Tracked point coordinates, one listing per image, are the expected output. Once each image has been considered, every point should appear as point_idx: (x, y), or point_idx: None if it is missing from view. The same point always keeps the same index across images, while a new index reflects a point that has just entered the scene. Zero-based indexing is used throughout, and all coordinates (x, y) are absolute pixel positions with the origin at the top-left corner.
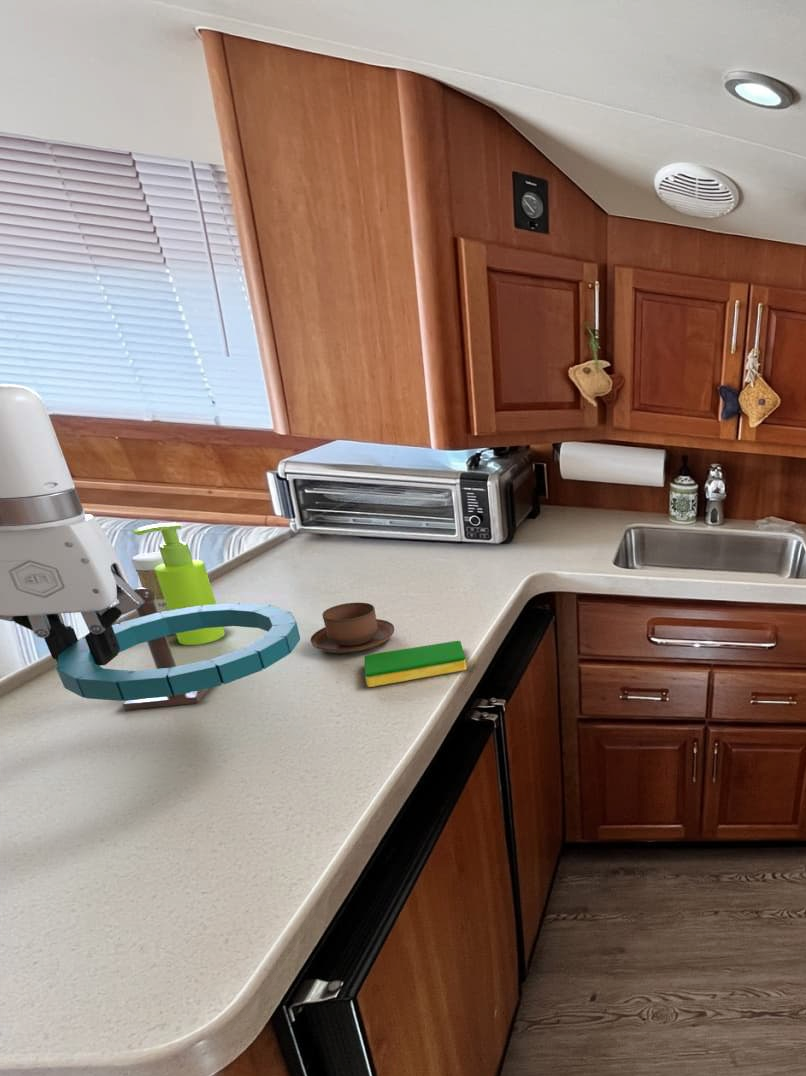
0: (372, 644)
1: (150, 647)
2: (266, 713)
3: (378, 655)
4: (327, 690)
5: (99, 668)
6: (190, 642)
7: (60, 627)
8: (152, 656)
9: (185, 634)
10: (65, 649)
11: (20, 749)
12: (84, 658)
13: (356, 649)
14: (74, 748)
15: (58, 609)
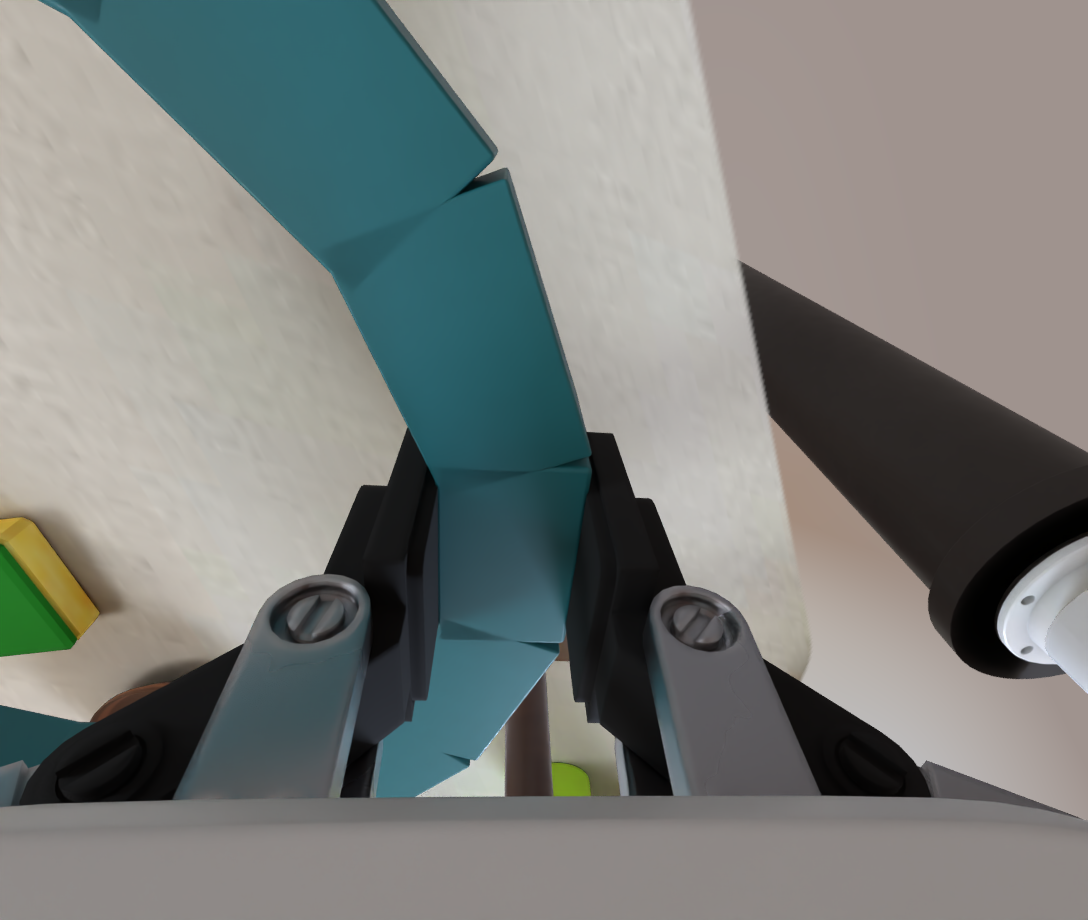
0: (111, 699)
1: (541, 715)
2: (257, 452)
3: (27, 639)
4: (149, 529)
5: (119, 36)
6: (561, 769)
7: (608, 687)
8: (544, 689)
9: (567, 790)
10: (582, 523)
11: (759, 440)
12: (389, 336)
13: (146, 686)
14: (654, 410)
15: (399, 883)
